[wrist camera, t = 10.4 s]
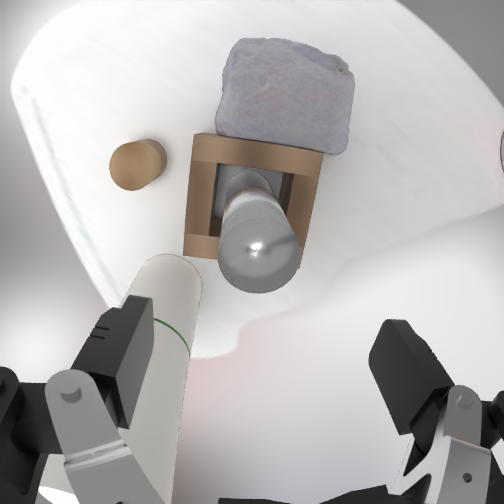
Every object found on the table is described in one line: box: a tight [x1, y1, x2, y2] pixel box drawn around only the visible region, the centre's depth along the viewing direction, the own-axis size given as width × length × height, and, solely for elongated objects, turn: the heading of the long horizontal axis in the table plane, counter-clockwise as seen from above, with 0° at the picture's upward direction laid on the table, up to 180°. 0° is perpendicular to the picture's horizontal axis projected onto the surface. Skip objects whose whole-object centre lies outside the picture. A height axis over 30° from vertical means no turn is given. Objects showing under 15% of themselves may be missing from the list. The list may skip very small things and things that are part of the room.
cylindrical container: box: [38, 254, 202, 504], centre depth 21 cm, size 7×7×25 cm
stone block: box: [215, 38, 355, 154], centre depth 24 cm, size 12×5×10 cm
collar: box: [183, 133, 323, 269], centre depth 26 cm, size 10×10×5 cm
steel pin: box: [218, 171, 301, 293], centre depth 22 cm, size 4×4×15 cm
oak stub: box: [109, 140, 167, 191], centre depth 25 cm, size 4×4×4 cm
